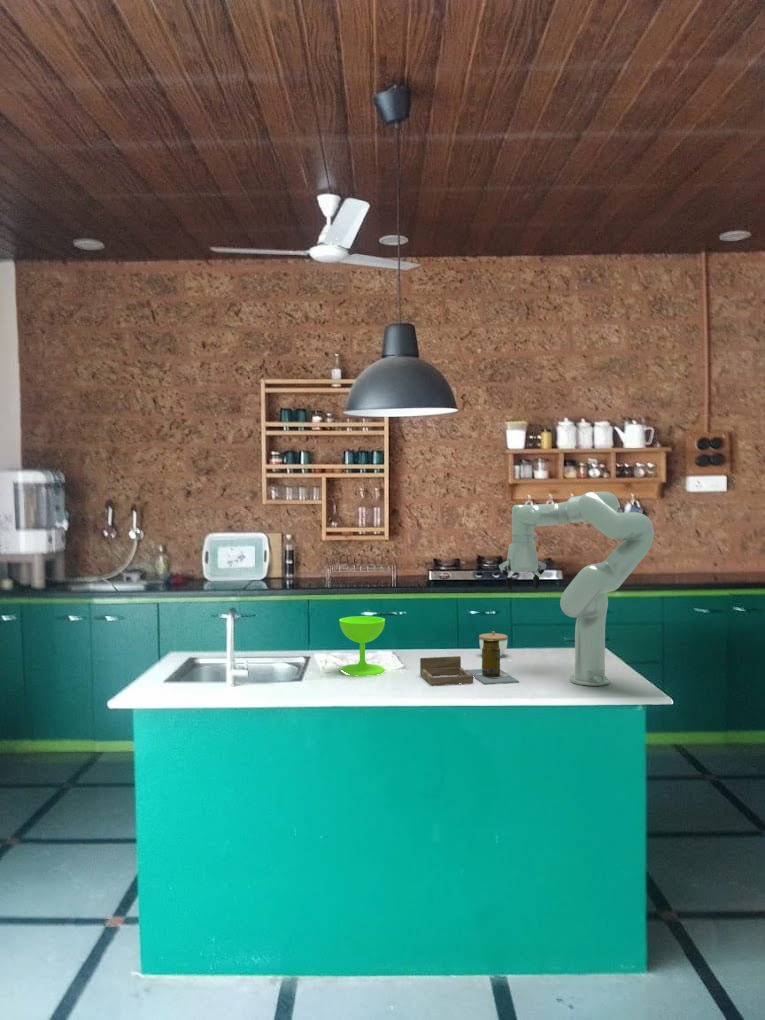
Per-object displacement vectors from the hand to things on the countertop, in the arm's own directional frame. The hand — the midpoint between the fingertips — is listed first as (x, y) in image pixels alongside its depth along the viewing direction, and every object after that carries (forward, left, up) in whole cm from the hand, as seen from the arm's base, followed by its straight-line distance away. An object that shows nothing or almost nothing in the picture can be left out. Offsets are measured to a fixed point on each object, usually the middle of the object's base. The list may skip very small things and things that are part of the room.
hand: (522, 588), depth 298 cm
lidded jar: (+23, +3, -28) cm, 37 cm away
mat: (-10, +15, -28) cm, 33 cm away
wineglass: (+8, +56, -28) cm, 63 cm away
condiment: (-10, +15, -28) cm, 33 cm away
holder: (-11, +31, -28) cm, 43 cm away
